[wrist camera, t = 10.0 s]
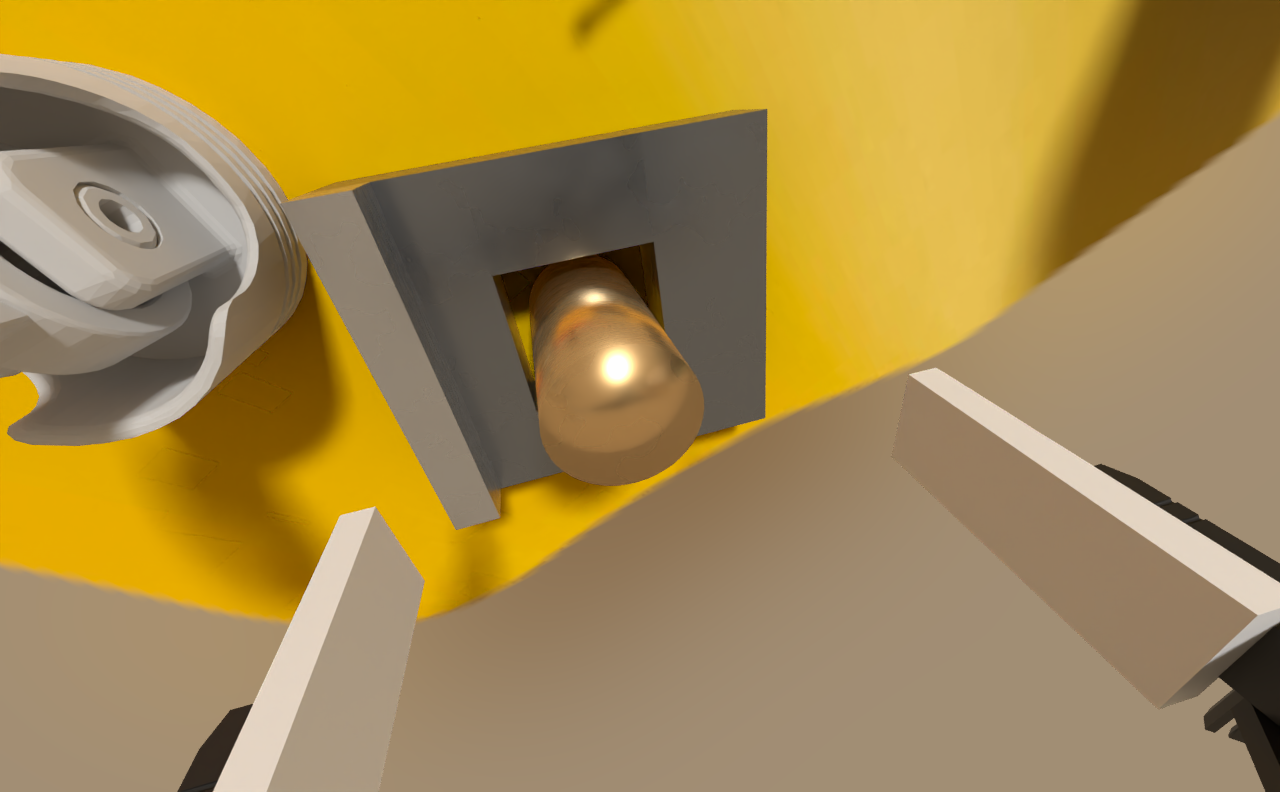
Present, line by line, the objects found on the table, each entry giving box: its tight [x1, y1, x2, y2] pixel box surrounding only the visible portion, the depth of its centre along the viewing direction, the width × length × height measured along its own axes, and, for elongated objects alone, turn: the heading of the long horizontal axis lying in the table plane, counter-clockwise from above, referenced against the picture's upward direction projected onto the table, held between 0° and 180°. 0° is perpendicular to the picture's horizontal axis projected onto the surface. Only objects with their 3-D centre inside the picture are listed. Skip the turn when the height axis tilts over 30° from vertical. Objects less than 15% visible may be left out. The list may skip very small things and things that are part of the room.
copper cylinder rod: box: [529, 255, 704, 486], centre depth 18 cm, size 5×5×10 cm
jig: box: [280, 109, 767, 530], centre depth 20 cm, size 16×14×5 cm
